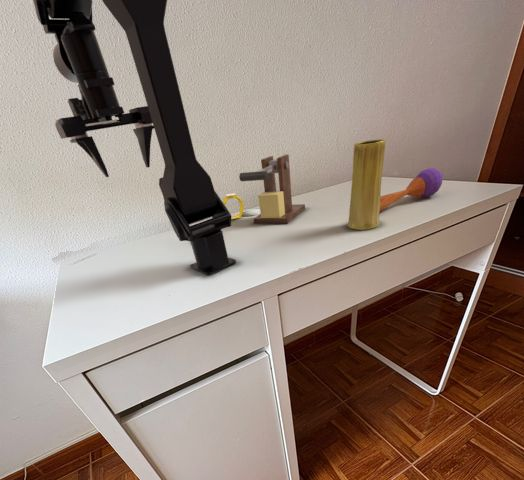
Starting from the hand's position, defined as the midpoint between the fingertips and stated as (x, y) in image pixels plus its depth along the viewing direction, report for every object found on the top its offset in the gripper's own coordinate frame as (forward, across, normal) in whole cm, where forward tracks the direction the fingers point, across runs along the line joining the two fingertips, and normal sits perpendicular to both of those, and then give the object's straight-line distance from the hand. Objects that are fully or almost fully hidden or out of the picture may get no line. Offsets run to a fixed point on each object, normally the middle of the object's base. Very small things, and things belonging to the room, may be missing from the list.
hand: (128, 172), depth 63 cm
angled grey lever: (+5, -23, +18) cm, 30 cm away
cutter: (+15, -28, +16) cm, 36 cm away
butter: (+14, -24, +18) cm, 33 cm away
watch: (+15, -21, +5) cm, 27 cm away
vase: (+15, -30, +39) cm, 52 cm away
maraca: (+15, -47, +38) cm, 63 cm away
